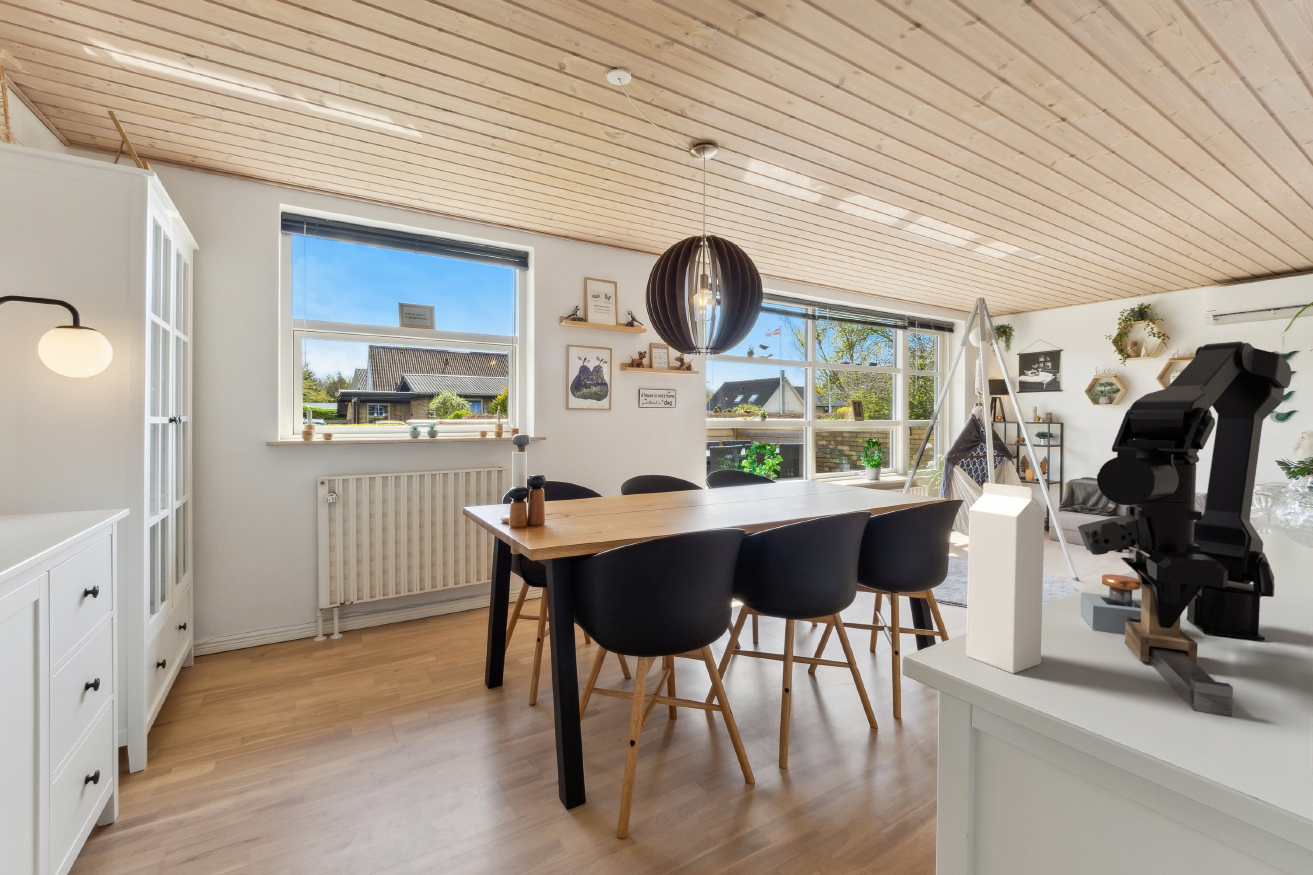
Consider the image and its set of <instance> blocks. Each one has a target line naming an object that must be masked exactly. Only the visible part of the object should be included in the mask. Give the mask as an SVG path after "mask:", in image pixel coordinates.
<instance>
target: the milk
mask: <svg viewBox="0 0 1313 875" xmlns="http://www.w3.org/2000/svg"><path fill="white" fill-rule="evenodd" d="M982 487H983V489H982V491H983V492H982V495H981V496H980V497H979V498H978V499H977V500H976V501H975V502H974V503H973V505H971V506H970V508H969V509H968V547H967V549H968V550H967V551H968V552H967V557H968V558H967V599H966V601H967V602H966V640H965V641H966V642H965V643H966V646H965V647H966V648H965V651H966V652H965V656H966V657H968V658H971V659H974V660H975V661H976V660H977V661H978V662H981V663H984V664H986V665H990V666H991V667H994V668H997V669H1000V670H1003V671H1004V672H1006V673H1007V672H1008V673H1010V674H1012V675H1013V674H1016V673H1019V672H1022V671H1024V670H1027V669H1030V668H1032V667H1035V666H1038V665H1040V664H1041V663H1042V661H1041V660H1042V626H1043V625H1042V624H1043V622H1042V621H1043V589H1044V588H1043V587H1044V586H1043V585H1044V583H1043V582H1044V557H1045V556H1044V550H1045V549H1044V548H1045V516H1046V514H1045V513H1046V512H1045V511H1044V510H1043V509H1042V508H1041V507H1040V506H1039V505H1038V504H1037V503H1036V502H1034V500H1033V489H1032V488H1031V487H1029V486H1020V485H1012V484H1002V483H1001V484H1000V483H993V482H992V483H991V482H984V483H983V486H982ZM967 635H968V636H967Z"/></svg>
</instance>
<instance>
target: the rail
mask: <svg viewBox="0 0 1313 875" xmlns="http://www.w3.org/2000/svg"><path fill="white" fill-rule="evenodd" d="M1127 621H1129V622H1138V623H1141V617H1132V616H1127ZM1148 663H1149V664H1150V665H1151V666H1152V668H1154V669H1155V670H1156V671H1157V672H1158V673H1159V674H1160V676H1162V678H1163V679H1164V680H1165V681H1166V682H1167V683H1168V684H1169V685H1170V686H1171V688H1173V689H1174V690H1175V692H1177V694H1178V695H1179V696H1180V697H1181V698H1182V699H1183V701H1184V702H1186V703H1187V705H1188V706H1189V707H1190V708H1191V709H1192V710H1193V711H1196V712H1203V713H1207V714H1213V715H1214V714H1215V715H1221V716H1225V717H1233V695H1234V694H1233V692H1234V691H1233V690H1234V687H1233V686H1232V685H1231V684H1229V683H1227V682H1220V681H1215V679H1214V678H1212V677H1211V676H1210V675H1209V674H1208V673H1207V672H1205V671H1204V670H1203V669H1202V668H1201V667H1200V666H1199V665H1198V664H1197V665H1196V664H1195V663H1194V662H1193V661H1192V660H1191V659H1190V658H1189V657H1188V656H1186V655H1185V654H1184V653H1183V652H1182V651H1181V650H1179V649H1171V648H1163V647H1155V646H1149V656H1148Z"/></svg>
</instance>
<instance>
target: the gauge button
mask: <svg viewBox="0 0 1313 875" xmlns="http://www.w3.org/2000/svg"><path fill="white" fill-rule="evenodd" d="M1101 584H1103V585H1104V586H1107V587H1109V590H1108V591H1109V593H1108V595H1109V605H1116V606H1125V607H1132V598H1133V591H1135V590H1140V589H1141V585H1140V582H1139V579H1138V578H1136V577H1133V576H1127V575H1123V574H1122V575H1121V574H1112V573H1111V574H1102V575H1101Z"/></svg>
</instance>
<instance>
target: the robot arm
mask: <svg viewBox="0 0 1313 875" xmlns="http://www.w3.org/2000/svg"><path fill="white" fill-rule="evenodd" d="M1291 381H1292V368H1291V365H1290V363H1289V362H1288V361H1287V360H1286V359H1285V358H1284V357H1283V356H1282V355H1281V354H1279V353H1277V352H1272V351H1268V350H1265V349H1260V348H1256V347H1254V346H1253V345H1252V344H1251V343H1249V342H1243V341H1229V342H1217V343H1207V344H1204V345H1202V346H1201V345H1200V346H1199V347H1197V349H1196V350H1195V354H1194V357H1193V359H1192V360H1191V361H1190V362H1189V363H1188V364H1187V365H1186V367H1185V368H1183V370H1182V371H1181V372H1180V373H1179V374H1178V375H1177V376H1176V377H1175V378H1174V379H1173V381H1172V382H1171V383H1170V384H1169V385H1168V386H1167V387H1165V388H1164V389H1161V390H1160V389H1159V390H1156V391H1153V392H1149V393H1146V394H1144V395H1143V396H1142V397H1140V398H1138V399H1137V400H1136V401H1134V402H1133V403H1132V405H1131V406H1130V407H1129V409H1127V411H1126V412H1125V414H1124V417H1123V419H1122V422H1121V424H1120V427H1119V429H1118V432H1117V434H1116V436H1115V439H1114V442H1113V444H1112V447H1111V451H1112V453H1117V454H1116V457H1114V458H1112V459H1108V460H1107V461H1106V462H1104V463H1103V465H1102V466H1101V467H1100V469H1099V472H1098V473H1097V475H1096V482H1097V486H1098V488H1099V492H1101V494H1102V496H1104V497H1105V498H1106V499H1107V500H1108V501H1111V502H1112V503H1114V504H1118V505H1121V506H1126V507H1125V508H1126V509H1125V510H1126V511H1125V512H1126V513H1125V515H1121V516H1117V517H1110V518H1105V519H1102V520H1096V521H1092V522H1089V523H1084V524H1081V525H1078V526H1077V529H1078V532H1079V534H1080V536H1081V539H1082V541H1083V544H1084V546H1085V548H1086V550H1087V551H1089V552H1090V553H1091V555H1094V556H1095V555H1096V556H1100V555H1104V554H1105V555H1106V554H1108V553H1109V552H1112V551H1114V552H1116V553H1119V554H1121V553H1123V550H1125V551H1126V550H1128V557H1127V556H1126V557H1125V556H1123V557H1121V558H1120V559H1121V560H1122V562H1124V564H1125V565H1127V566H1128V567H1129V568H1131V569H1132V570H1133V572H1135V573H1136V574H1137V579H1139V582H1140V585H1141V588H1140V589H1141V590H1142V584H1147V585H1152V586H1153V593H1154V599H1155V606H1156V612H1157V618H1158V623H1159V626H1160V627H1163V628H1171V627H1172V626H1173V625H1174V623H1175V622H1176V621H1177V619H1178V618H1179V617H1180V618H1181V616H1182V614H1183V612H1184V611H1185V610H1186V608H1187V610H1186V611H1187V615H1186V621H1188V622H1189V623H1190V624H1191V625H1192V626H1194V627H1195V628H1196V629H1198V630H1199V631H1201V632H1202V633H1204V634H1206V635H1214V636H1223V637H1232V638H1233V637H1234V638H1238V639H1246V640H1247V639H1249V640H1256V641H1257V640H1258V641H1266V636H1265V635H1263V634H1261V633H1260V632H1259V631H1260V628H1259V627H1260V611H1261V610H1260V608H1261V607H1260V606H1261V604H1260V603H1261V598H1262V597H1266V598H1267V597H1269V598H1273V597H1275V576H1274V573H1273V571H1272V568H1271V566H1270V563H1269V561H1268V558H1267V556H1266V554H1265V552H1263V551H1264V542H1263V539H1262V538H1261V536H1260V535H1259V534H1258V532H1257V530H1256V529H1255V527H1254V526H1253V524H1252V523H1251V522H1250V520H1251V511H1252V504H1253V498H1254V497H1253V496H1254V490H1255V482H1256V474H1257V467H1258V462H1259V460H1258V458H1259V452H1260V443H1261V437H1262V430H1263V423H1264V420H1265V419H1266V418H1268V416H1270V415H1271V413H1273V412H1274V411H1275V410H1276V409H1277V408H1278V407H1279V406H1280V405H1281V404H1282V403H1283V398H1284V393H1285V390H1286V389H1287V388H1289V386H1290V385H1291ZM1211 407H1212V408H1213V410H1214V411H1215V412H1216V413H1217V422H1216V420H1215V417H1214V416H1213V415H1212V412H1211ZM1215 425H1216V427H1215ZM1214 428H1216V429H1215V435H1214V441H1213V449H1212V457H1211V465H1210V471H1209V478H1208V485H1207V493H1206V500H1205V504H1204V505H1205V506H1204V512H1202V511H1200V510H1198V509H1196V488H1197V487H1196V483H1197V463H1198V462H1200V457H1199V455H1198V453H1199V451H1200V450H1204V448H1205V446H1206V444H1207V442H1208V440H1209V438H1210V436H1211V433H1212V431H1213V429H1214ZM1202 513H1203V514H1202Z"/></svg>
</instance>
